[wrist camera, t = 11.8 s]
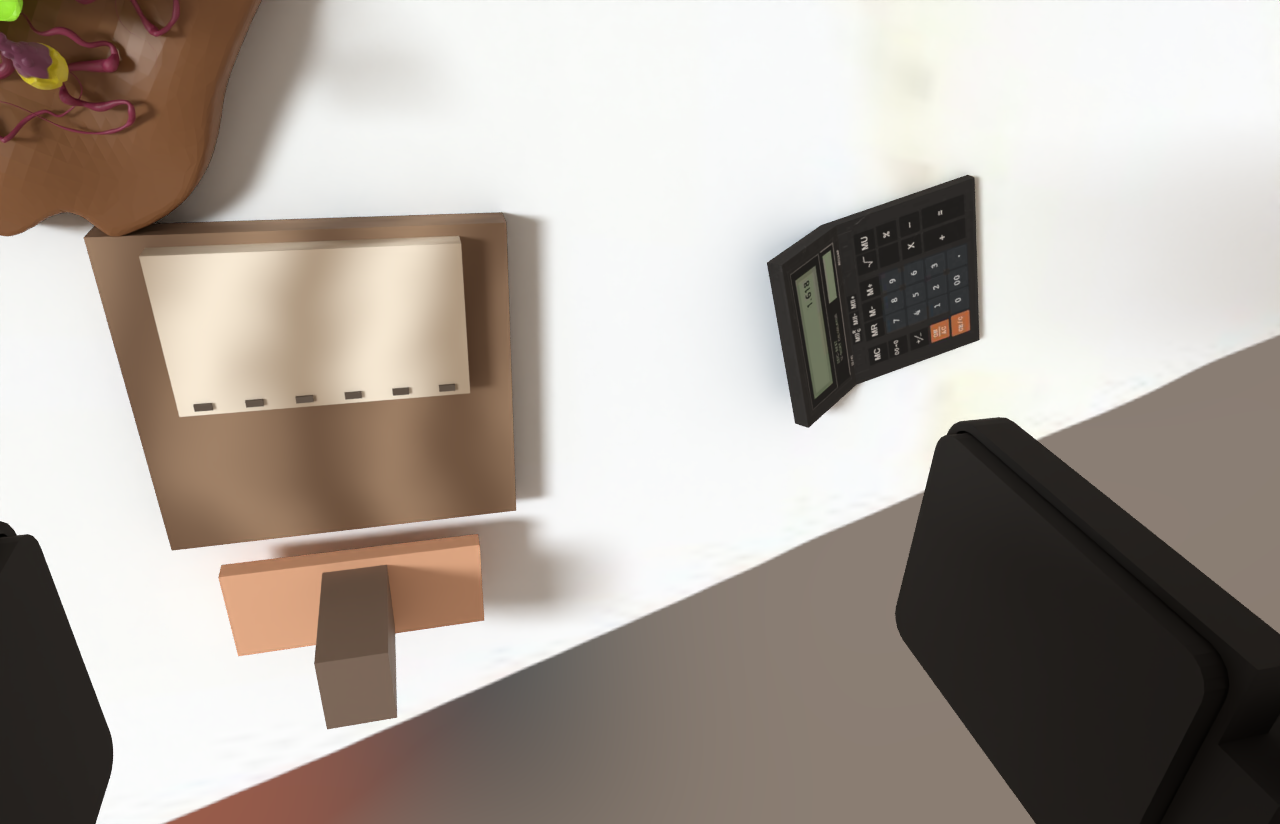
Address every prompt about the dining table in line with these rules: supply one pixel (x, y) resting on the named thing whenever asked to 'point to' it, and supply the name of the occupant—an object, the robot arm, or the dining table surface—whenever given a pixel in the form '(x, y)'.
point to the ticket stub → (353, 612)
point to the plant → (111, 105)
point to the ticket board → (315, 370)
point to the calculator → (876, 293)
